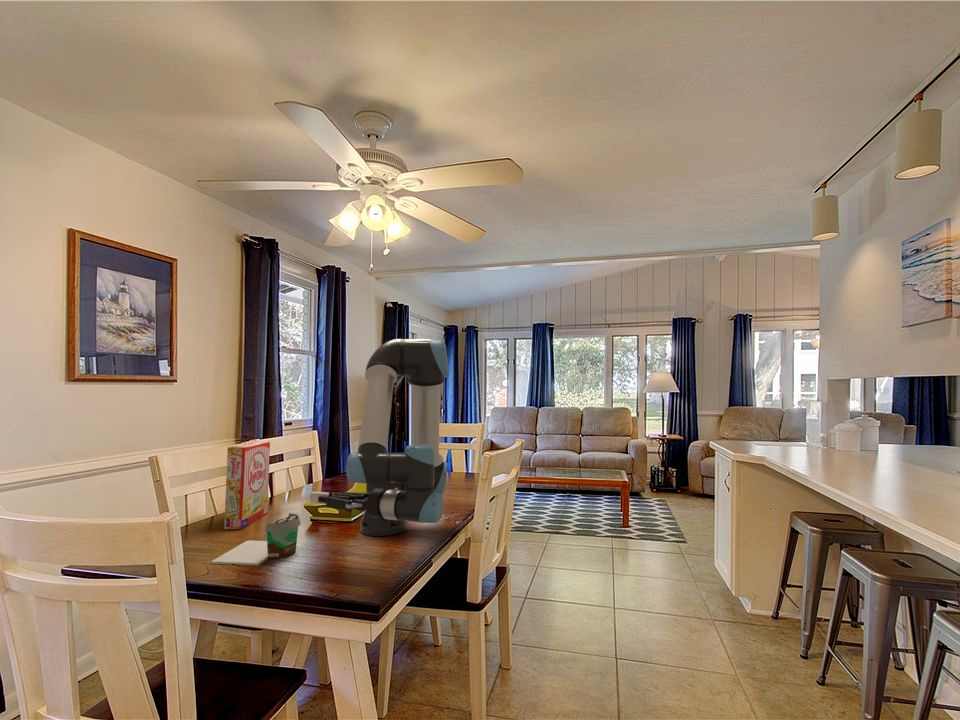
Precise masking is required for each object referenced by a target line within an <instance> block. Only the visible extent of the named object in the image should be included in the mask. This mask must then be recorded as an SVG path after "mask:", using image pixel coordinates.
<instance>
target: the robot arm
mask: <svg viewBox="0 0 960 720" xmlns="http://www.w3.org/2000/svg"><path fill="white" fill-rule="evenodd" d="M364 376H365V379H366V381H367V384H366V391H365V398H364V403H363V404H364V405H363V411H362V418H361V419H362V420H361V426H360V433H359V440H358V447H357V451H356V452H350V453H349V454H348V456H347V458H346V459H347V460H346V464H345V465H346V466H345V467H346V469H345V472H346V478H347V481H348V482H350V483H356V484H357V483H358V484H366V489H365V490H366V491H365V492H354V491H353V492H351V491H350V492H349V491H348V492H347V491H346V492H345V491H341V492H331V491H329V492H325V491H324V492H323V491H322V492H321V491H320V492H319V491H312V492H311V491H310V494H309V499H310V500H309V503H311V504H312V503H313V504H322V505H326V507H328V508H331V509H332V508H333V509H338V510H344V511H346V512H348V513H350V512H352V510H357V511H359V512H364V513H363V515H362V518H361V520H360V525H359V527H360V528H359V532H360V533H362V534H363V535H366V536H372V537H386V535H389V536H393V535H392V534H395V535H398V534H397V533H399V534H401V533H400V532H402V531H404V530H405V529H406V530H407V522H415V523H419V524H436V523H438V522H439V521H440V520H441V518H442V517H443V515H444V514H443V513H444V509H445V501H444V497H443V495H444V493H445V489H446V484H447V478H448V477H447V476H448V462H447V461H445V460H444V457H443V455H442V454H441V453H440V387H441V386H442V385H443V384H444V383H445V378H447V377H449V376H450V371H449V361H448V354H447V345H446V343H445V342H444V341H443V339H442V340H441V339H432V338H405V339H404V338H395V339H390V340H388V341H386V342H384V343H383V344H382V345H380V346H379V347H378V348H377V349H376V350H375V351H373V353H372V355H371V356H370V358H369V360H368V361H367V364H366V367H365V373H364ZM399 377H407V383H408V384H409V385H410V386H411V387H412V390H411V391H412V444H410V445H407V446H405V451H404V452H388V446H389V445H388V444H389V435H390V434H389V433H390V422H391V412H392V403H393V394H394V393H393V392H394V385H395V383H396V382H397V381H398V378H399ZM406 530H405V531H406ZM405 531H404V532H405ZM402 533H403V532H402Z"/></svg>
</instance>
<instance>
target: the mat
mask: <svg viewBox="0 0 960 720" xmlns="http://www.w3.org/2000/svg"><path fill="white" fill-rule="evenodd" d="M267 560H269V559H268V552H267V540H246V541H244V542H242V543H240V544H238V545H237V546H235V547H233V548H232V549H230V550H228V551H226V552H225V553H224V554H221V555H220V556H218V557H216V558H214V559H213V560H211V561H210V564H211V563H212V564H213V565H232V564H235V565H237V564H238V565H239V566H259V565H261V564H262V563H263V562H265V561H267ZM212 564H211V565H212ZM238 565H237V566H238Z"/></svg>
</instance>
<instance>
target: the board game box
mask: <svg viewBox="0 0 960 720" xmlns="http://www.w3.org/2000/svg"><path fill="white" fill-rule="evenodd" d="M270 449H271V441H270V440H269V441H268V440H254V441H250V442H246V443H243V444H238V445H233V446H227V454H226V455H227V456H226V475H225V476H226V479H225V500H224V501H225V502H224V521H223V522H224V523H223V524H224V525H223V526H224V527H223V530H242V529H244V528H246V527H247V525H248V526H249V525H251V524H253V523H255V522H256V521H258V520H259V519H261V518H263V517H264V516H267V515H268V514H269V508H268V507H269V487H270V486H269V482H270V481H269V480H270ZM254 521H255V522H254Z"/></svg>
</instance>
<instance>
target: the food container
mask: <svg viewBox="0 0 960 720" xmlns="http://www.w3.org/2000/svg"><path fill="white" fill-rule="evenodd" d="M301 524H302V522H301V518H300V516H299V515H298V513H288V516H286V517H285V518H281V519H278V520H276V521H275V522H274V523H266V526H265V532H266V541H267V552H268V559H267V560H271V559H273V560H281V558H282V559H286V558H289V557H291V556H294V555H296V552H297V551H296V550H297V544H298V543H297V542H298V534H299V532H298V531H299V527H300V526H301Z"/></svg>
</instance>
